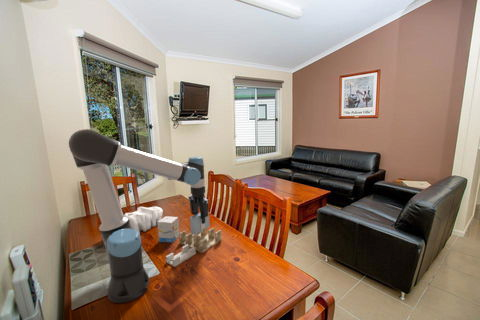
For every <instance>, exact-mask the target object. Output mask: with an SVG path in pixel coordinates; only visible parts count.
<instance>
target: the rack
mask: <svg viewBox="0 0 480 320" xmlns="http://www.w3.org/2000/svg"><path fill="white" fill-rule="evenodd" d="M178 238H179V245H183V246H185V245H187V244H188V245H189V249H191V248H192V247H195V251H196V252H198V253H201V254H203V253H205V252H206V251H207V250H210V249H211V248H212V247H214V246H215V245H216V244H218V243H219V242H221V241H222V230H221V229H219V230H217V231H216V232H215V228H214V227H212V228H209V229H208V228H207V229H205V230H203V231H201V232H199V233H197V234H196V235H194V234H191V232H189V233H188V234H187V231H186V230H183V231H181V232H179V236H178Z"/></svg>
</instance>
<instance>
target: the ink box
mask: <svg viewBox="0 0 480 320" xmlns="http://www.w3.org/2000/svg"><path fill="white" fill-rule="evenodd" d="M157 229H158V230H157V231H158V242H159V243H174V242H175V241H176V240H177V239H178V238H179V233H180V227H179V217H178V216H168V215H166V216H164V217H162V219H161V220H160V221H158V225H157Z"/></svg>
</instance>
